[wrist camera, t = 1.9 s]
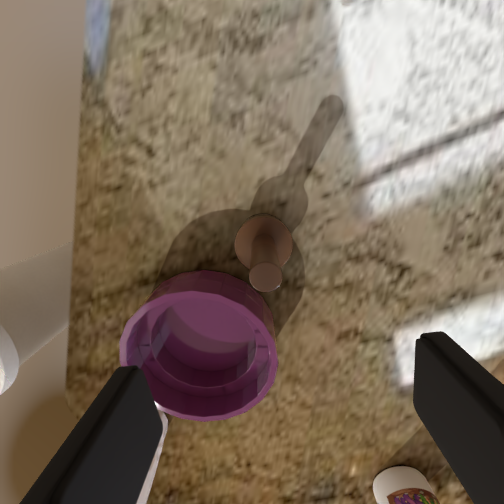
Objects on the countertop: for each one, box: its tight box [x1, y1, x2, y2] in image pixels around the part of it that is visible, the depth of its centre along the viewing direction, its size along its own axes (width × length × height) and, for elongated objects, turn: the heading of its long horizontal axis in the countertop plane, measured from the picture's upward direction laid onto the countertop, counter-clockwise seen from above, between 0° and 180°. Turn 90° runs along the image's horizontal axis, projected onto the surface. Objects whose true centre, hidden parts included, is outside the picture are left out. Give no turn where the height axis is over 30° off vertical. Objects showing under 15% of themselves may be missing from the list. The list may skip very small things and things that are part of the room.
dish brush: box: [235, 214, 293, 292], centre depth 21 cm, size 5×5×10 cm
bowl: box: [120, 270, 278, 422], centre depth 27 cm, size 15×15×6 cm
